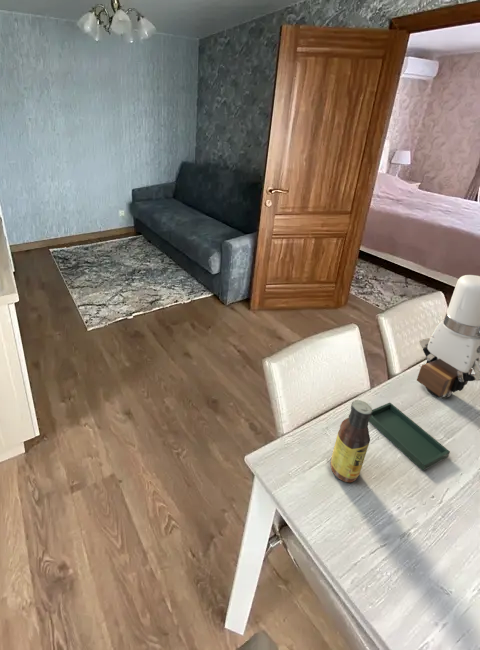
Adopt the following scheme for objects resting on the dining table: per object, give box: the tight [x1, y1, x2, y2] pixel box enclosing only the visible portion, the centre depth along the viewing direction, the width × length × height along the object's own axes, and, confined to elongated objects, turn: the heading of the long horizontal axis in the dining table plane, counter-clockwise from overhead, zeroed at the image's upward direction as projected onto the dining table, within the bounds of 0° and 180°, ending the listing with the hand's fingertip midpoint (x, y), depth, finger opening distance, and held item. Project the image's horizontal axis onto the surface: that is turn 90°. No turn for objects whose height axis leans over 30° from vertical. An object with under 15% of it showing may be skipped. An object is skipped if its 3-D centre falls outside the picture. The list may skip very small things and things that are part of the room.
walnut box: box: [416, 359, 474, 396], centre depth 90 cm, size 11×6×5 cm, turn 112°
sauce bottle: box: [330, 399, 373, 483], centre depth 78 cm, size 6×6×20 cm
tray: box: [368, 402, 451, 472], centre depth 90 cm, size 16×9×2 cm, turn 22°
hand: (442, 380), depth 91 cm, fingers closed on walnut box, 6 cm apart
